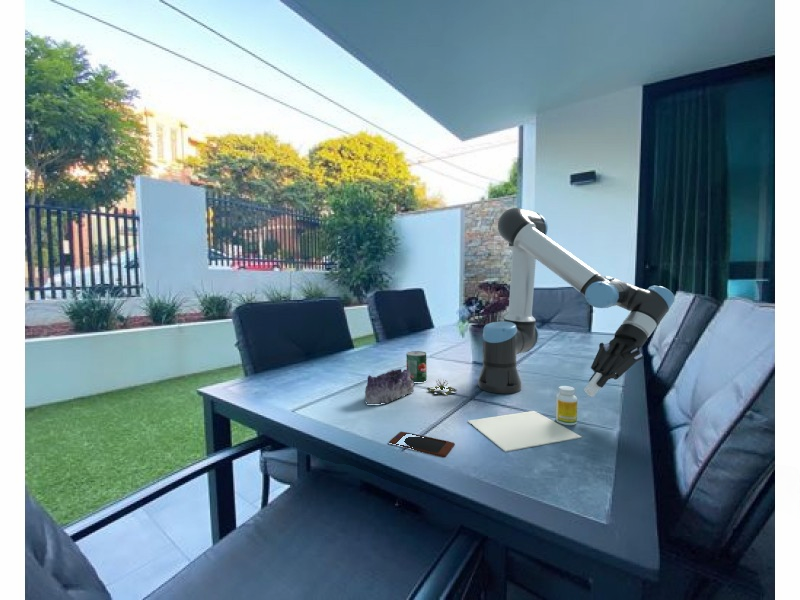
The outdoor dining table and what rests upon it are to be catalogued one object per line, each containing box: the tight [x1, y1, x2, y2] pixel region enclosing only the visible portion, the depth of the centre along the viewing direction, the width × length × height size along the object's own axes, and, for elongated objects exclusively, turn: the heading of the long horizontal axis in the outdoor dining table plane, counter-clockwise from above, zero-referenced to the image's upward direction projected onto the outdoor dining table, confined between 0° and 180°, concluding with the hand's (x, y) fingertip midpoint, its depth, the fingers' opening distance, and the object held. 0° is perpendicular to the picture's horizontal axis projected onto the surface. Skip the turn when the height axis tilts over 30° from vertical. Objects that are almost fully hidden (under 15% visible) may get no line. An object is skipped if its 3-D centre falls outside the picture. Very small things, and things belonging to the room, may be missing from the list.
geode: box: [364, 368, 415, 405], centre depth 119 cm, size 20×12×10 cm, turn 144°
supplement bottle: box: [555, 385, 578, 426], centre depth 97 cm, size 5×5×10 cm
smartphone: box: [388, 431, 456, 458], centre depth 86 cm, size 7×1×15 cm
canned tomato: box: [406, 350, 428, 382], centre depth 138 cm, size 8×8×11 cm
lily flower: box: [427, 379, 456, 396], centre depth 125 cm, size 12×12×5 cm
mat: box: [467, 410, 583, 453], centre depth 93 cm, size 22×18×1 cm
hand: (588, 393), depth 99 cm, fingers closed
